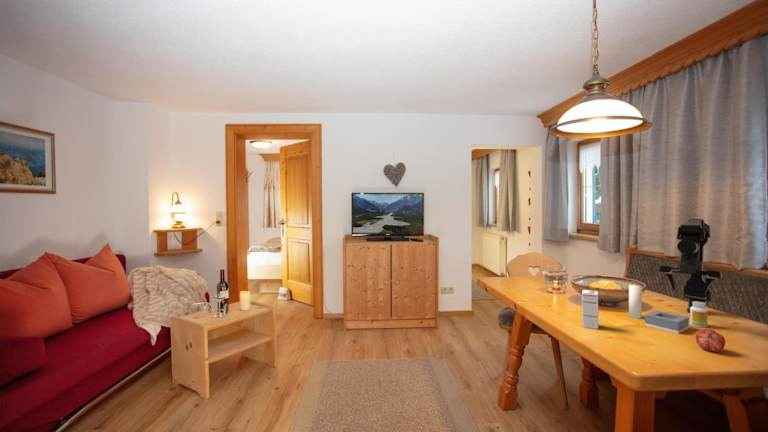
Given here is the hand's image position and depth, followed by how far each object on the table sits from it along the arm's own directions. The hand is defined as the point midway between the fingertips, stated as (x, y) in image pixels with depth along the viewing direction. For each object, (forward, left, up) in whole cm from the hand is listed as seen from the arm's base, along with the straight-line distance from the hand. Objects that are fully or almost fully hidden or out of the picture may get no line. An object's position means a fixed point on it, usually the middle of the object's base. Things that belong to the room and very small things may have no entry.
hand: (688, 292), depth 138 cm
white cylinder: (-1, -18, -14) cm, 23 cm away
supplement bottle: (-5, +3, -14) cm, 16 cm away
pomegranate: (+25, +5, -14) cm, 29 cm away
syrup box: (+25, -31, -14) cm, 42 cm away
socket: (+6, -7, -14) cm, 17 cm away
